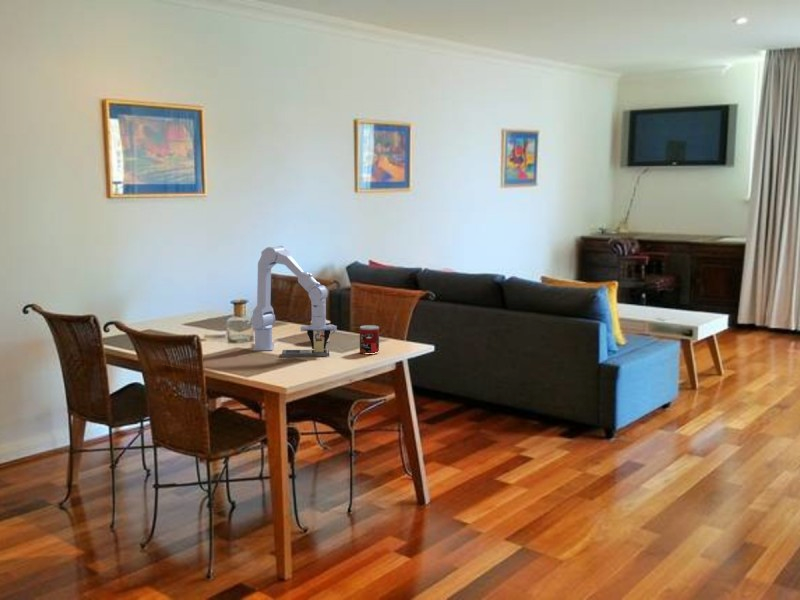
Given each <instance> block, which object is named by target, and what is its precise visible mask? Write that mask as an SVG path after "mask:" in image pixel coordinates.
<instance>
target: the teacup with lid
mask: <svg viewBox="0 0 800 600" xmlns="http://www.w3.org/2000/svg"><path fill="white" fill-rule="evenodd" d="M309 324H310V325H309V326H312V320H311V321H310V322H309ZM326 325H328V326H335V325H334V324H331V320H328V319H326ZM314 330H316V329H314ZM321 330H324V329H321ZM336 332H337V331H332V333H330V335H329V337H328V340H327V342H328V343H330V342H331V337H332V336H334V335H335V334H336ZM316 338H322V339H324V331H314V339H316ZM329 341H330V342H329Z"/></svg>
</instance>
